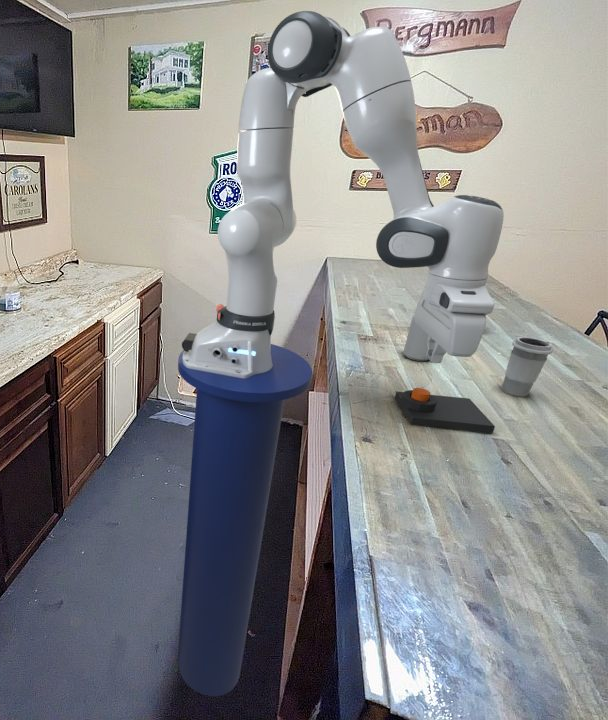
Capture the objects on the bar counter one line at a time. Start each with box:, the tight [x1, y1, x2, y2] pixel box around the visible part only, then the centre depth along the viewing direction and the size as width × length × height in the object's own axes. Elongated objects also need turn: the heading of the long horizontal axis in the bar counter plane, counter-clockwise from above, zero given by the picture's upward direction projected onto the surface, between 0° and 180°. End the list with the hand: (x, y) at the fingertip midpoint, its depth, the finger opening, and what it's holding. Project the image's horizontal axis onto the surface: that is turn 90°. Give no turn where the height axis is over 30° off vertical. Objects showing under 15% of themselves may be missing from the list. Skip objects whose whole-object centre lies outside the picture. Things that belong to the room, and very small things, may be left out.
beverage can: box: [402, 314, 429, 362], centre depth 117 cm, size 6×6×12 cm
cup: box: [501, 336, 554, 397], centre depth 99 cm, size 7×7×12 cm
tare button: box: [411, 387, 431, 402], centre depth 92 cm, size 3×3×2 cm
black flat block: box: [394, 389, 496, 434], centre depth 92 cm, size 14×11×4 cm
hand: (433, 360), depth 88 cm, fingers closed
